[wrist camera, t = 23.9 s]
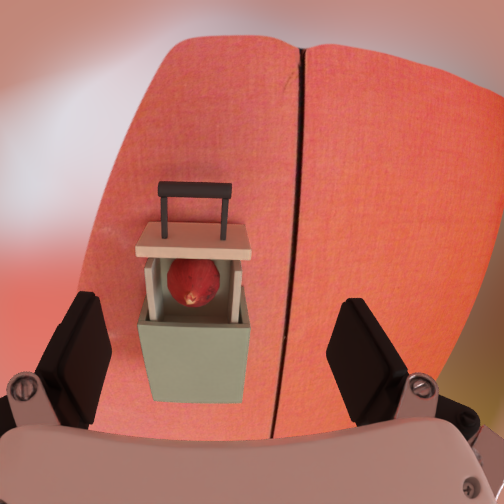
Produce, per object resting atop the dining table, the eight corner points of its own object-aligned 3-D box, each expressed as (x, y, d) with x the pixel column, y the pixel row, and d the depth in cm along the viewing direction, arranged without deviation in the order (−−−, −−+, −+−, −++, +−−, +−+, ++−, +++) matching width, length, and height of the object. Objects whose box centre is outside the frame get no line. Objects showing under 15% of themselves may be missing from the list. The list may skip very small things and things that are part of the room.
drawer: (147, 172, 31) (131, 187, 25) (249, 175, 33) (257, 190, 27) (155, 313, 39) (148, 348, 33) (237, 316, 41) (241, 350, 35)
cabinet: (149, 283, 38) (136, 324, 31) (243, 286, 40) (250, 328, 32) (159, 359, 45) (153, 401, 37) (237, 361, 46) (241, 403, 39)
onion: (227, 252, 35) (231, 290, 28) (208, 290, 37) (207, 332, 30) (181, 233, 34) (172, 268, 26) (164, 274, 36) (154, 314, 28)
